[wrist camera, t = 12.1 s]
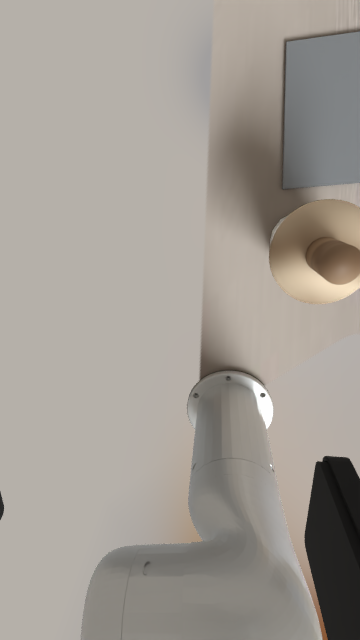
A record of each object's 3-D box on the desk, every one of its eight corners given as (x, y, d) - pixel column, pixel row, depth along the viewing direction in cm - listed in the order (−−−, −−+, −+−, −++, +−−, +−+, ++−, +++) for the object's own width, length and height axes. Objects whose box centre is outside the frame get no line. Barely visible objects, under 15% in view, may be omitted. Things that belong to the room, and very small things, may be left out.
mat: (392, 179, 37) (394, 179, 37) (282, 189, 39) (283, 189, 39) (412, 25, 33) (414, 23, 32) (286, 43, 34) (286, 41, 34)
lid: (369, 299, 33) (399, 320, 27) (268, 303, 34) (277, 324, 28) (381, 194, 29) (418, 194, 24) (269, 204, 31) (280, 205, 25)
